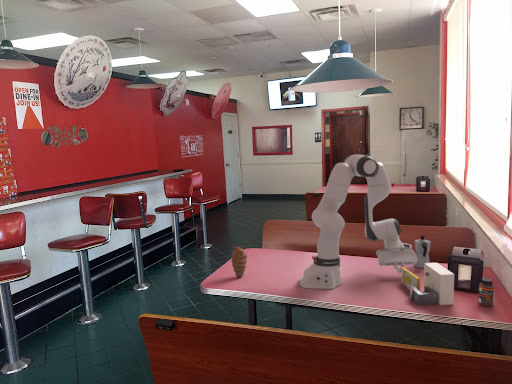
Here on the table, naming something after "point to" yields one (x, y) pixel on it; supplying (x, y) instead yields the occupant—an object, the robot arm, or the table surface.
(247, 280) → the table surface
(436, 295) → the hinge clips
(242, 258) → the brown ridged elongated piece
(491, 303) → the supplement bottle
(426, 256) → the coffee maker
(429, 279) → the cabinet
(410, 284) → the candy box
